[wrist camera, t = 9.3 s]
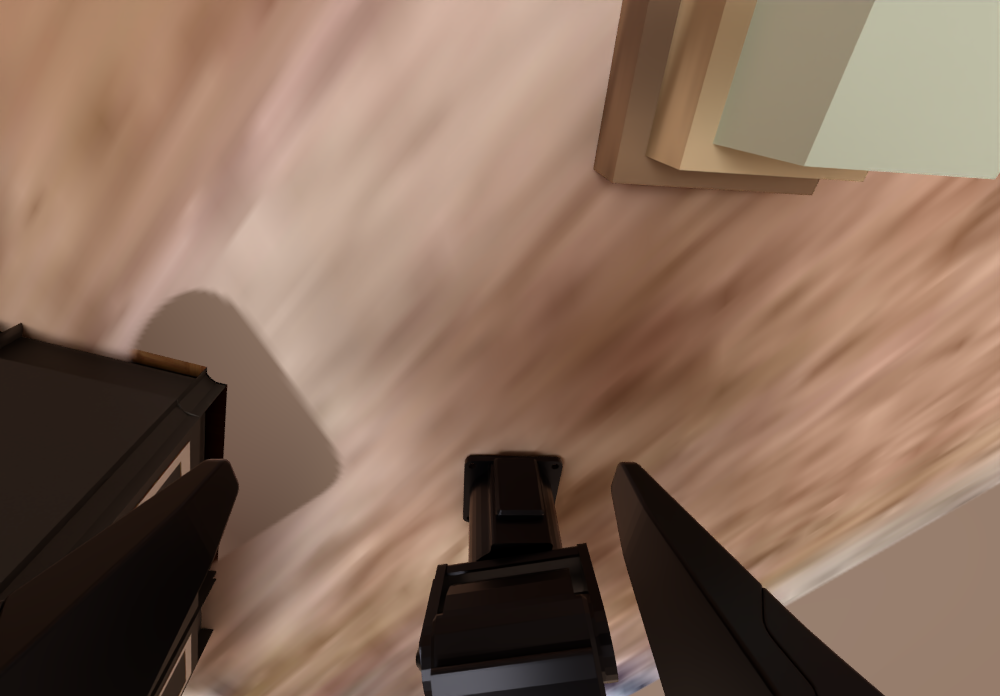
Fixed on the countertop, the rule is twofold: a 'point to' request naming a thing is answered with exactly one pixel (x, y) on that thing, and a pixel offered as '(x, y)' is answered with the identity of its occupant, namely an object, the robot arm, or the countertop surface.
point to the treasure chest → (98, 458)
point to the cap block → (870, 86)
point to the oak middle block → (711, 96)
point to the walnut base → (634, 105)
